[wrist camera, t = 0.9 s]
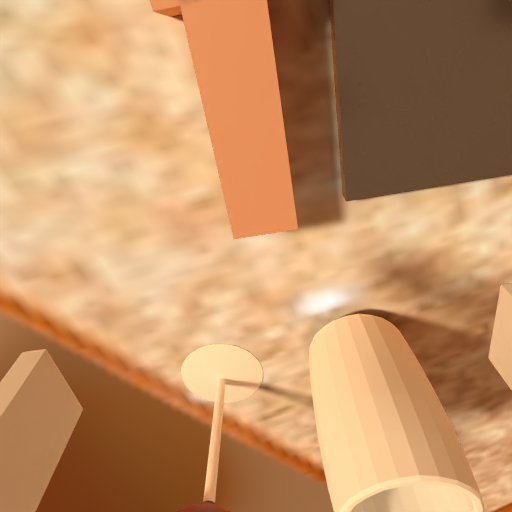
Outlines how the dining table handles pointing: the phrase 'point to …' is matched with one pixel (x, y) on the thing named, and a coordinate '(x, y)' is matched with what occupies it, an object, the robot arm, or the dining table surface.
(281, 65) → the dining table surface
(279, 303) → the dining table surface
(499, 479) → the dining table surface
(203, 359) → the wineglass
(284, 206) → the link
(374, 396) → the cup
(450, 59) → the base
